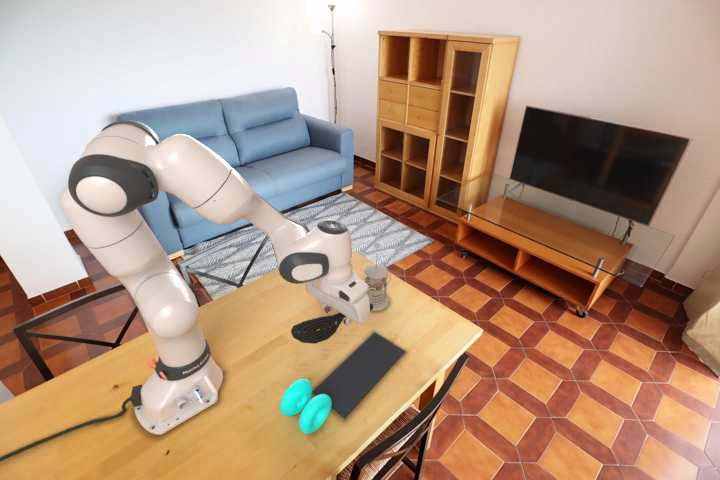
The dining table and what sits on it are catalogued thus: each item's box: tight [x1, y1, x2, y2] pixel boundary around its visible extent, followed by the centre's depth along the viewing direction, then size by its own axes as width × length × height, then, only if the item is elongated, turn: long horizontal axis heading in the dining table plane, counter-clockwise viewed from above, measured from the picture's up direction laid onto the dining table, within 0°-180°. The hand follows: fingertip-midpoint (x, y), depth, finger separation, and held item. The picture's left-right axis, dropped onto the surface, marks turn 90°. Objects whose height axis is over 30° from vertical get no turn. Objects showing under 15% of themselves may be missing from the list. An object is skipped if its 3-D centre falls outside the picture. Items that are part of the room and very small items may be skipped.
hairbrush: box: [290, 303, 373, 345], centre depth 101 cm, size 8×4×25 cm
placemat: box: [312, 331, 406, 419], centre depth 107 cm, size 28×12×1 cm, turn 140°
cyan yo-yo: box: [279, 378, 332, 435], centre depth 93 cm, size 10×10×10 cm
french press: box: [363, 242, 392, 312], centre depth 126 cm, size 10×12×25 cm
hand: (337, 317), depth 101 cm, fingers closed on hairbrush, 6 cm apart
